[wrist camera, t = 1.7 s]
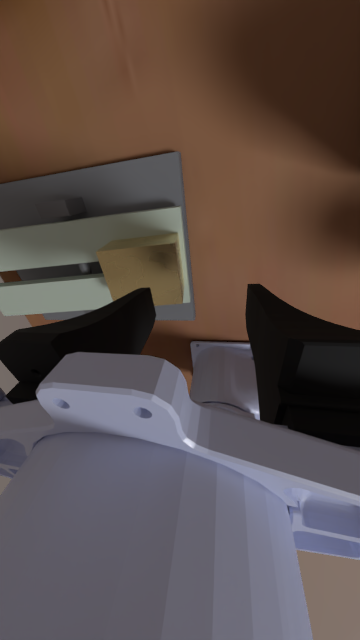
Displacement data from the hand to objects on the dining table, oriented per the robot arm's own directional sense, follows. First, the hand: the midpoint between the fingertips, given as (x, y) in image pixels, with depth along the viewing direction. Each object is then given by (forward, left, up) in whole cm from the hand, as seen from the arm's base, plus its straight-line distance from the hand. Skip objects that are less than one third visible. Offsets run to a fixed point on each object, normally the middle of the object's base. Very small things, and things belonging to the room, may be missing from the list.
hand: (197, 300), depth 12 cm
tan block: (+5, 0, -7) cm, 9 cm away
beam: (+13, 0, -8) cm, 16 cm away
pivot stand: (+13, 0, -10) cm, 17 cm away
